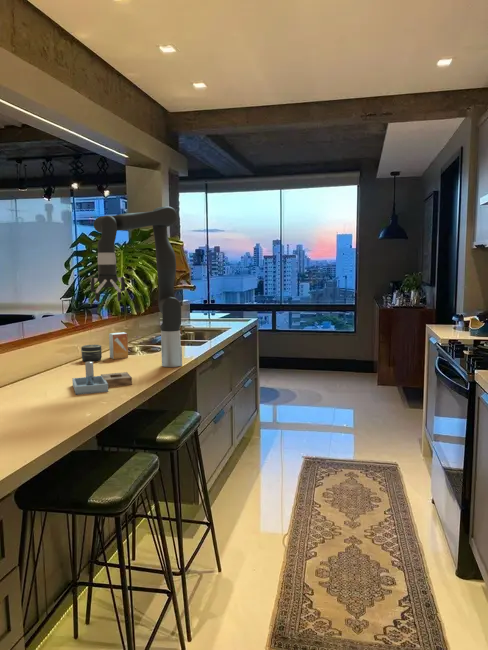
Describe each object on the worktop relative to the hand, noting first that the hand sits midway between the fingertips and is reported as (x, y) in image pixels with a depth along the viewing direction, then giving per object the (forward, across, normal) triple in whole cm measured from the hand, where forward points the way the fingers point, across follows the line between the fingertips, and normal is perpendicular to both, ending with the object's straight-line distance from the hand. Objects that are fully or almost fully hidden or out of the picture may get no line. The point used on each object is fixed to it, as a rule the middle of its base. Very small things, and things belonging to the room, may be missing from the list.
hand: (108, 301), depth 216 cm
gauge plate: (+33, 0, +13) cm, 36 cm away
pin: (+32, +11, +18) cm, 39 cm away
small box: (+33, -10, -44) cm, 56 cm away
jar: (+33, +4, -42) cm, 54 cm away
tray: (+33, +11, +18) cm, 39 cm away
